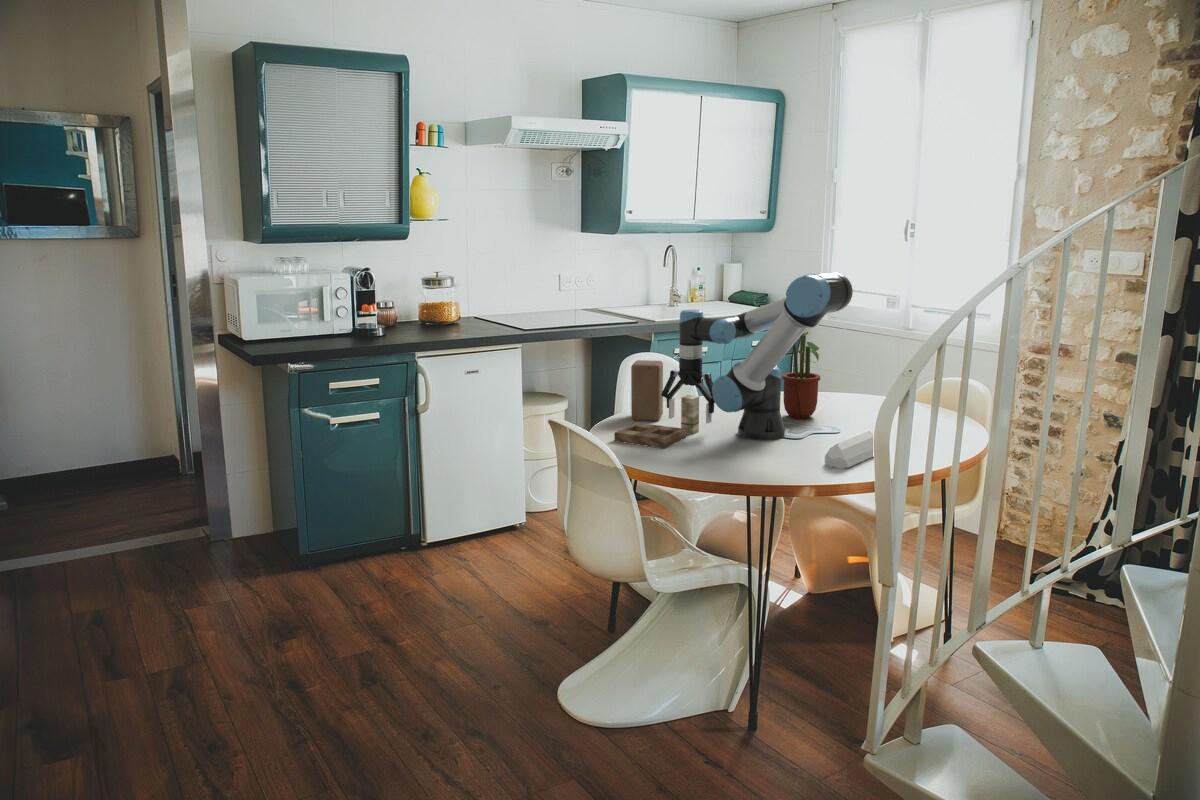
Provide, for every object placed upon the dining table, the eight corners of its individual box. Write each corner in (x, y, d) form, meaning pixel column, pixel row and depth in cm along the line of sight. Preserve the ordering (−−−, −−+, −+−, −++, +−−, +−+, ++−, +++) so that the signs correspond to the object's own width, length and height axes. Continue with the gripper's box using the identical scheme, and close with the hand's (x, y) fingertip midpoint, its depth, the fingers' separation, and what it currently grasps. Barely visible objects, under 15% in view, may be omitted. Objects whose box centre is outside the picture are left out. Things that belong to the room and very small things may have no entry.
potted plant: (816, 422, 321) (820, 321, 314) (771, 419, 326) (774, 320, 319) (821, 411, 337) (825, 315, 330) (778, 408, 342) (781, 313, 335)
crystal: (855, 436, 287) (815, 452, 270) (874, 428, 282) (835, 444, 265) (865, 459, 286) (826, 476, 269) (885, 451, 281) (846, 468, 264)
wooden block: (659, 421, 325) (659, 365, 320) (630, 420, 326) (630, 364, 322) (663, 415, 334) (663, 360, 330) (635, 414, 336) (635, 359, 332)
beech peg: (698, 431, 311) (699, 396, 308) (693, 434, 307) (693, 398, 304) (686, 429, 313) (687, 394, 310) (680, 432, 309) (681, 397, 307)
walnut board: (685, 437, 303) (685, 428, 302) (664, 448, 290) (664, 439, 290) (636, 431, 312) (636, 422, 311) (614, 441, 299) (614, 432, 299)
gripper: (730, 358, 301) (729, 422, 306) (662, 352, 314) (661, 413, 319) (721, 362, 295) (719, 427, 300) (651, 355, 308) (651, 418, 312)
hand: (689, 420), depth 309 cm, fingers open, 13 cm apart
